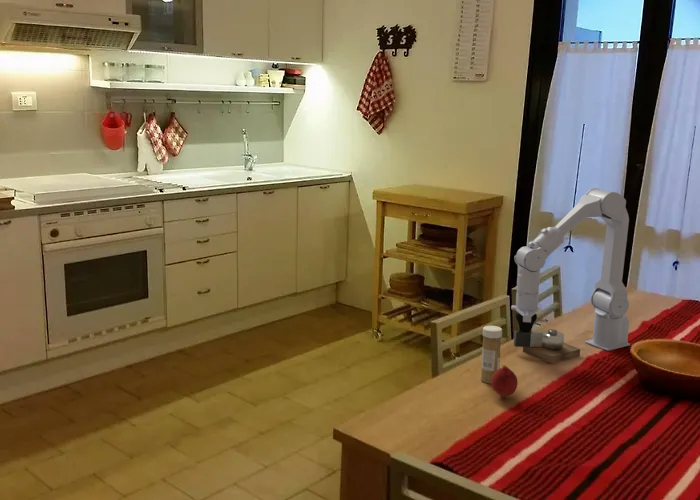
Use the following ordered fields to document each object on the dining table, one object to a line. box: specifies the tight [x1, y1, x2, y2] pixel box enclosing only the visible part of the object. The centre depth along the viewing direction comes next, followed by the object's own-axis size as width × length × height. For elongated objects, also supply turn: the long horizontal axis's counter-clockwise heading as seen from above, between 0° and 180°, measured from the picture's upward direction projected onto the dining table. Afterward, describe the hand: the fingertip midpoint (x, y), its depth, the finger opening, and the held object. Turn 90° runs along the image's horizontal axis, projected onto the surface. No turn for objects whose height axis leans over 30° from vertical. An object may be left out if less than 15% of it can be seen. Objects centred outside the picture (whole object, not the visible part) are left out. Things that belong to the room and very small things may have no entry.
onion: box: [490, 363, 518, 399], centre depth 158 cm, size 6×6×8 cm
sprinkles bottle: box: [480, 325, 503, 385], centre depth 167 cm, size 5×5×13 cm
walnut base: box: [522, 342, 581, 365], centre depth 187 cm, size 11×10×2 cm
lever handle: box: [513, 328, 565, 349], centre depth 186 cm, size 13×6×4 cm, turn 90°
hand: (524, 339), depth 188 cm, fingers closed
